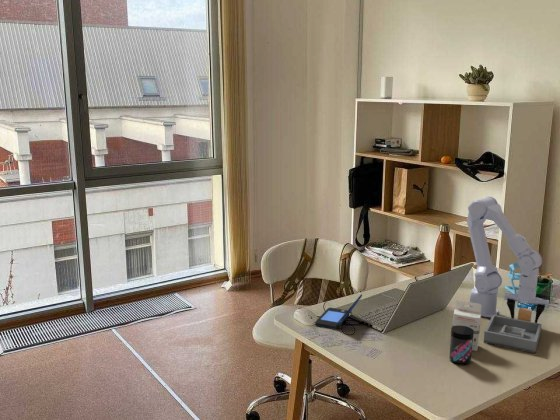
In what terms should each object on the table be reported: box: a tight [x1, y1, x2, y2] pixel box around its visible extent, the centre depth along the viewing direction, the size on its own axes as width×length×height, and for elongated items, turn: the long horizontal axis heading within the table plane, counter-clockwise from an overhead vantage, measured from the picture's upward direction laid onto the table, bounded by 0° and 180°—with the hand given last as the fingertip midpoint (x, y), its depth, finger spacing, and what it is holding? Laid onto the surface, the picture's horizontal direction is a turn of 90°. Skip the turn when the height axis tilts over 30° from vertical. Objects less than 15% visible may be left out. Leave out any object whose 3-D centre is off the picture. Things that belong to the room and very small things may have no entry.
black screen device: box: [315, 293, 363, 331], centre depth 206 cm, size 16×13×9 cm
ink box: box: [451, 299, 482, 352], centre depth 185 cm, size 9×5×15 cm, turn 65°
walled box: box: [483, 314, 542, 354], centre depth 192 cm, size 16×16×4 cm
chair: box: [504, 262, 520, 294], centre depth 234 cm, size 8×8×12 cm
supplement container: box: [449, 325, 474, 366], centre depth 176 cm, size 7×7×10 cm
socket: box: [501, 325, 525, 338], centre depth 192 cm, size 7×7×2 cm
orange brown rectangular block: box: [517, 307, 533, 322], centre depth 202 cm, size 4×4×6 cm
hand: (524, 321), depth 202 cm, fingers open, 7 cm apart
